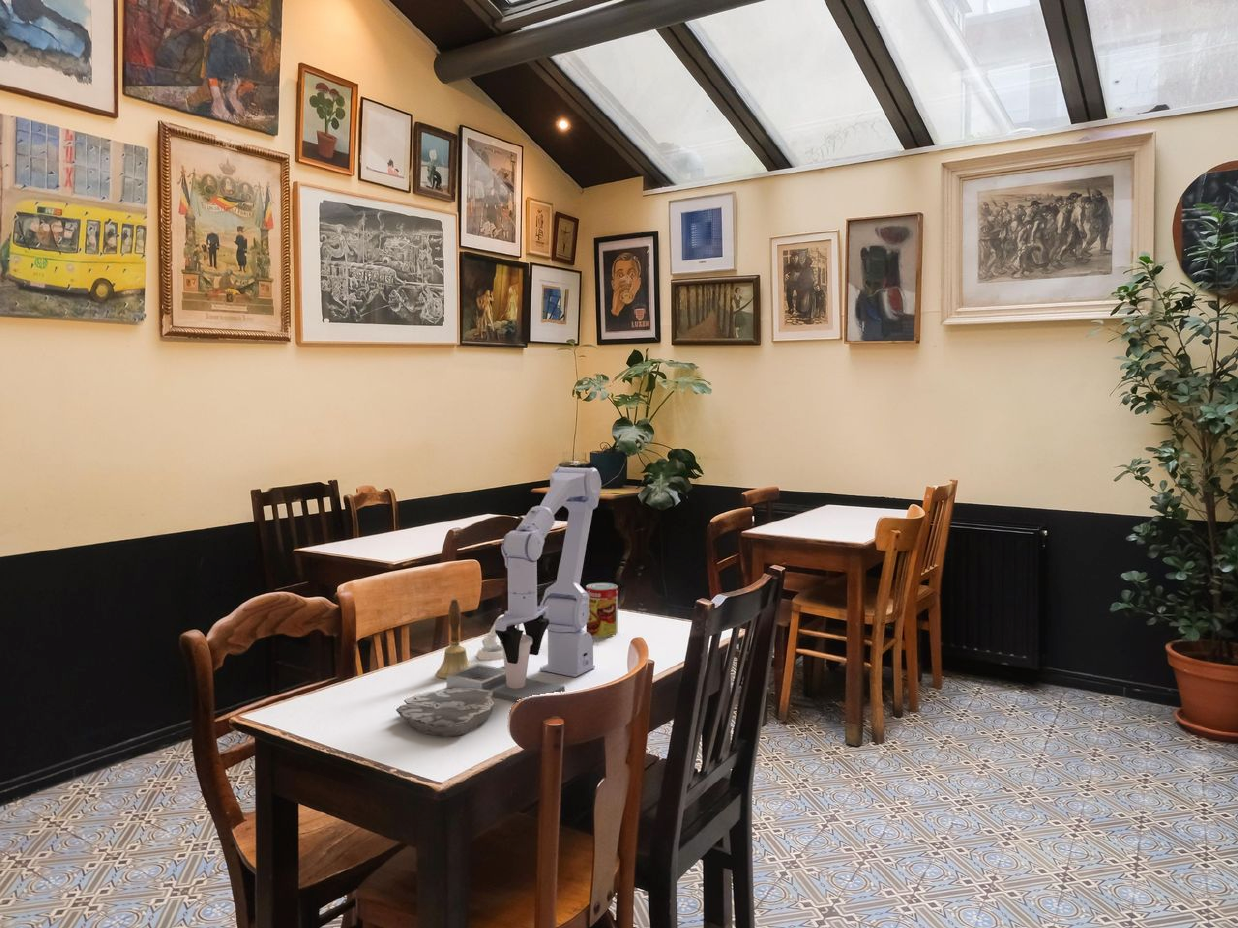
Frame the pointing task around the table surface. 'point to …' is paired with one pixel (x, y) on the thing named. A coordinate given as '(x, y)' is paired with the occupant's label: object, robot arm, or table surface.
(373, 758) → the table surface
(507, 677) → the smoothie
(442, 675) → the hand bell
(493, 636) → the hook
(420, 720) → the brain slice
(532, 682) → the mat
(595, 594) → the canned food
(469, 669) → the holder
